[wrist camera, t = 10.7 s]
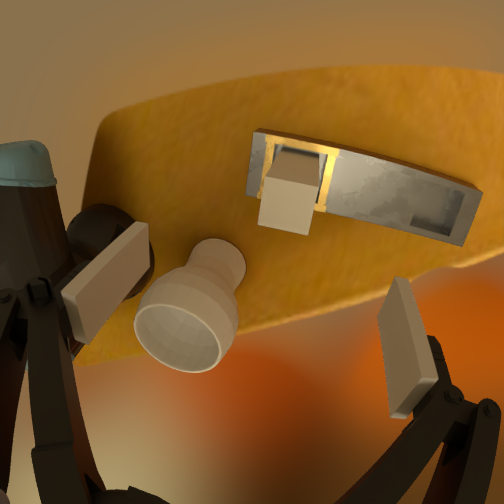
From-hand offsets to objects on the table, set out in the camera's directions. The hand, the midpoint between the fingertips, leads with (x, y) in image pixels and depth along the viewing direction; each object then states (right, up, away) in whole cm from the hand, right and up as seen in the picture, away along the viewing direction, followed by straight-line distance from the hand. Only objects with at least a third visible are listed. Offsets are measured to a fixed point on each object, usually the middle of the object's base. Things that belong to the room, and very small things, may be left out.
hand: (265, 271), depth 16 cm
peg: (+4, +10, +18) cm, 21 cm away
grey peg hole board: (+12, +9, +18) cm, 23 cm away
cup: (-5, 0, +27) cm, 28 cm away
